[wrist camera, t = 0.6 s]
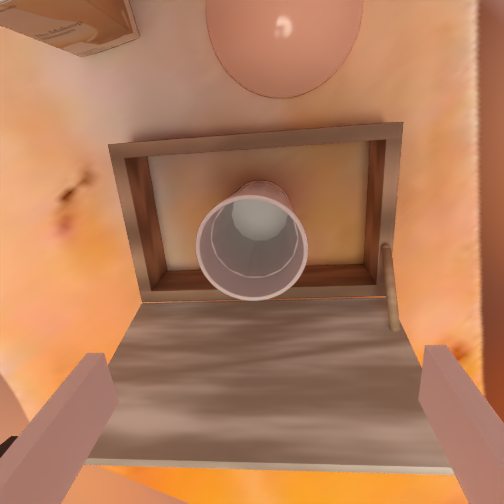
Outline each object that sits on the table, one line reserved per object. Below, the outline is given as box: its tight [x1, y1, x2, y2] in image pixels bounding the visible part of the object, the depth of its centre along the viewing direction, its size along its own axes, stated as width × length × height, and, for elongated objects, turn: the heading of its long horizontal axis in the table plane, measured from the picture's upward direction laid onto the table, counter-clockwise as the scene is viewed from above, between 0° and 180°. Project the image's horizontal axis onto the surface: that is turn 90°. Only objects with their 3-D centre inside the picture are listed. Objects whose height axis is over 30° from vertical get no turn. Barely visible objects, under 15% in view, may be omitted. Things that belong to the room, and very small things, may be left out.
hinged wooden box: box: [83, 122, 455, 475], centre depth 26 cm, size 19×24×20 cm
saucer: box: [206, 0, 363, 98], centre depth 28 cm, size 13×13×1 cm
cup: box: [196, 180, 308, 301], centre depth 29 cm, size 8×8×12 cm
